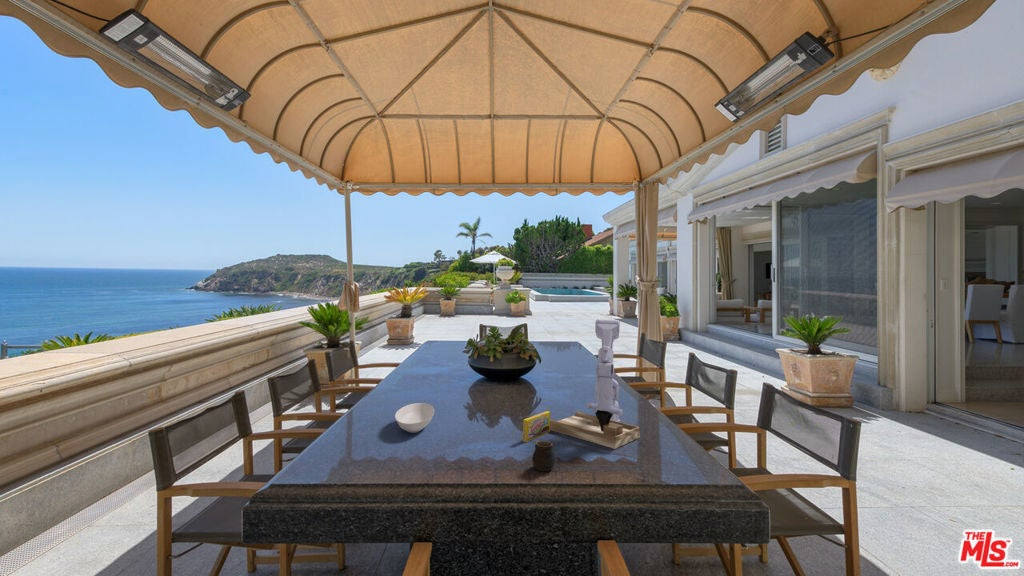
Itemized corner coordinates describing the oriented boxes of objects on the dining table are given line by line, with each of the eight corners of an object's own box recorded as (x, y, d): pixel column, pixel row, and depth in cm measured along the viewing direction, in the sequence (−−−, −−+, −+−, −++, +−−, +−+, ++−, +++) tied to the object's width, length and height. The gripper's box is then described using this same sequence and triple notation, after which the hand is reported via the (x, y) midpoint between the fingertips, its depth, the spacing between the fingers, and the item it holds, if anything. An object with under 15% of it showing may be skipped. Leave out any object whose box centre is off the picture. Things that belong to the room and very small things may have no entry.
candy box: (526, 443, 169) (527, 420, 169) (521, 441, 171) (522, 419, 171) (550, 432, 182) (550, 411, 182) (545, 431, 183) (546, 410, 183)
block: (610, 433, 174) (610, 422, 174) (622, 436, 170) (622, 425, 170) (603, 436, 170) (603, 425, 170) (615, 439, 167) (615, 428, 167)
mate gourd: (540, 462, 150) (541, 431, 150) (560, 468, 146) (561, 437, 146) (527, 468, 145) (528, 436, 145) (546, 475, 140) (548, 442, 140)
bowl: (429, 439, 171) (430, 423, 171) (388, 440, 170) (388, 423, 170) (437, 417, 201) (437, 403, 201) (402, 417, 200) (402, 403, 200)
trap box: (575, 420, 198) (576, 411, 198) (639, 437, 177) (640, 427, 177) (549, 429, 185) (549, 419, 185) (614, 448, 164) (615, 437, 164)
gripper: (582, 393, 175) (581, 428, 175) (615, 399, 165) (615, 437, 165) (592, 390, 180) (592, 425, 180) (626, 396, 170) (625, 433, 170)
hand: (604, 430), depth 173 cm, fingers closed
